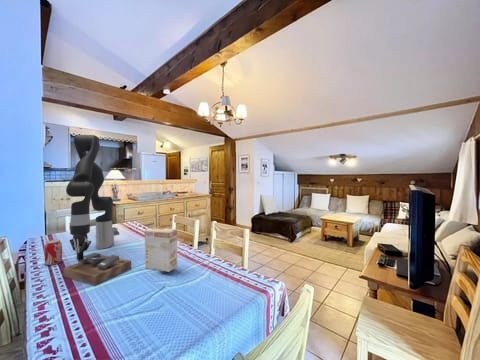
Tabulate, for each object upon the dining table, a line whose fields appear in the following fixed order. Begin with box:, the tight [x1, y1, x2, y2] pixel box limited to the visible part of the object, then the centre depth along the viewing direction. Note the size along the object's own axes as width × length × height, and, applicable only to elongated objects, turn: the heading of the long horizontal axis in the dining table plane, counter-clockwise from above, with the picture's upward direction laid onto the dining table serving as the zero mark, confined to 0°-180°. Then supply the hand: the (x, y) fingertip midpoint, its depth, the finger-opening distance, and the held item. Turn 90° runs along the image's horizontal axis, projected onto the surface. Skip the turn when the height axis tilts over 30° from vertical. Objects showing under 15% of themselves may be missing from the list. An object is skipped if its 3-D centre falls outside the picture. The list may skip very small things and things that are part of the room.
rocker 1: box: [77, 252, 101, 263], centre depth 104 cm, size 8×4×2 cm, turn 157°
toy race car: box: [112, 226, 120, 236], centre depth 162 cm, size 10×15×6 cm, turn 139°
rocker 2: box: [87, 257, 108, 263], centre depth 101 cm, size 8×4×2 cm, turn 157°
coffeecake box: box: [144, 226, 178, 273], centre depth 107 cm, size 15×7×20 cm, turn 71°
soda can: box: [43, 239, 63, 266], centre depth 113 cm, size 7×7×12 cm
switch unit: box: [63, 254, 132, 286], centre depth 102 cm, size 18×22×5 cm
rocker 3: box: [97, 254, 121, 270], centre depth 99 cm, size 8×4×2 cm, turn 157°
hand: (80, 259), depth 100 cm, fingers closed
